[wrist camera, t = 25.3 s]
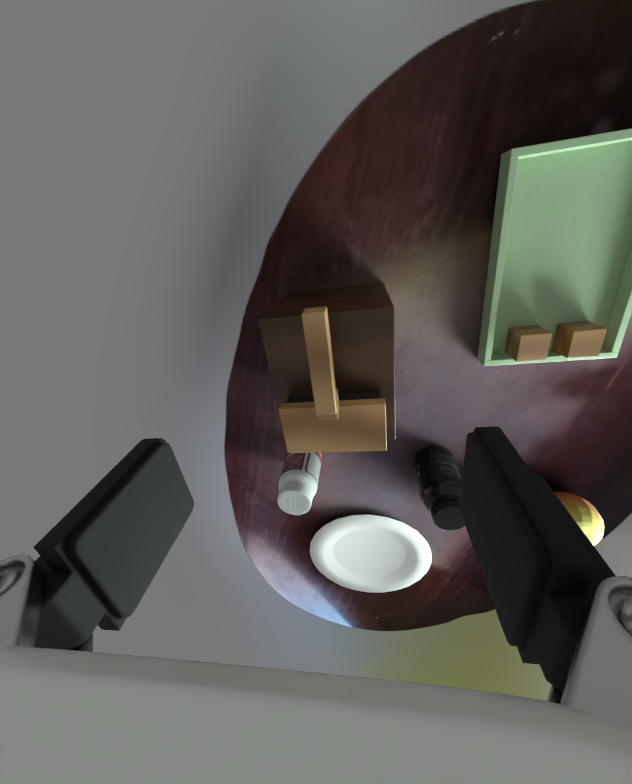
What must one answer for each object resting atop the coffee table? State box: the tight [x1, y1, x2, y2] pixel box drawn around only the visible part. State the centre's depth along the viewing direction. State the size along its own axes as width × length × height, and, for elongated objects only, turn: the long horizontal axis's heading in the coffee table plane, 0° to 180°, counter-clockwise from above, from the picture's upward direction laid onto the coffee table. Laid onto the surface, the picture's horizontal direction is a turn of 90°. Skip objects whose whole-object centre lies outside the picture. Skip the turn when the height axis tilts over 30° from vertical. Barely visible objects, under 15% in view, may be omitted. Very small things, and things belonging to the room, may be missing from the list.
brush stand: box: [259, 283, 396, 443], centre depth 39 cm, size 15×13×14 cm
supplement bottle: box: [413, 446, 465, 530], centre depth 48 cm, size 7×7×12 cm
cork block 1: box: [505, 325, 552, 362], centre depth 40 cm, size 4×4×4 cm
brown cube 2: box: [552, 321, 607, 358], centre depth 39 cm, size 4×4×4 cm
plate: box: [310, 514, 432, 592], centre depth 65 cm, size 25×25×2 cm
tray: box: [477, 128, 632, 366], centre depth 36 cm, size 24×16×3 cm, turn 7°
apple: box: [554, 492, 604, 546], centre depth 51 cm, size 10×10×8 cm
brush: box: [279, 307, 387, 453], centre depth 29 cm, size 16×11×6 cm
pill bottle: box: [277, 452, 322, 515], centre depth 51 cm, size 6×6×11 cm
